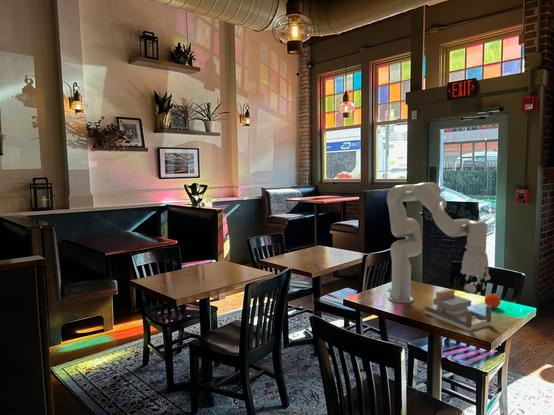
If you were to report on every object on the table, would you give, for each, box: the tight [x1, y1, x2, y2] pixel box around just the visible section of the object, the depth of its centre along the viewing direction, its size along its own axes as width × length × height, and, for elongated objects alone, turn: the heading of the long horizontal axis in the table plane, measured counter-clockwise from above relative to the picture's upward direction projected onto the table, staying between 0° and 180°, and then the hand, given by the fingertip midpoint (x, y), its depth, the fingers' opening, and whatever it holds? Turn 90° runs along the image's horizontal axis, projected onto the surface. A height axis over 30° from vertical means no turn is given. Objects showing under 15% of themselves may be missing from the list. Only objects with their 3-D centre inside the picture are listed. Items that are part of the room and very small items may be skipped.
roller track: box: [424, 305, 493, 332], centre depth 188 cm, size 24×15×8 cm, turn 28°
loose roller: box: [463, 281, 486, 294], centre depth 180 cm, size 4×9×4 cm, turn 118°
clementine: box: [484, 293, 501, 309], centre depth 203 cm, size 8×7×7 cm
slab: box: [432, 288, 472, 311], centre depth 190 cm, size 10×13×6 cm
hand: (474, 290), depth 180 cm, fingers closed on loose roller, 4 cm apart
